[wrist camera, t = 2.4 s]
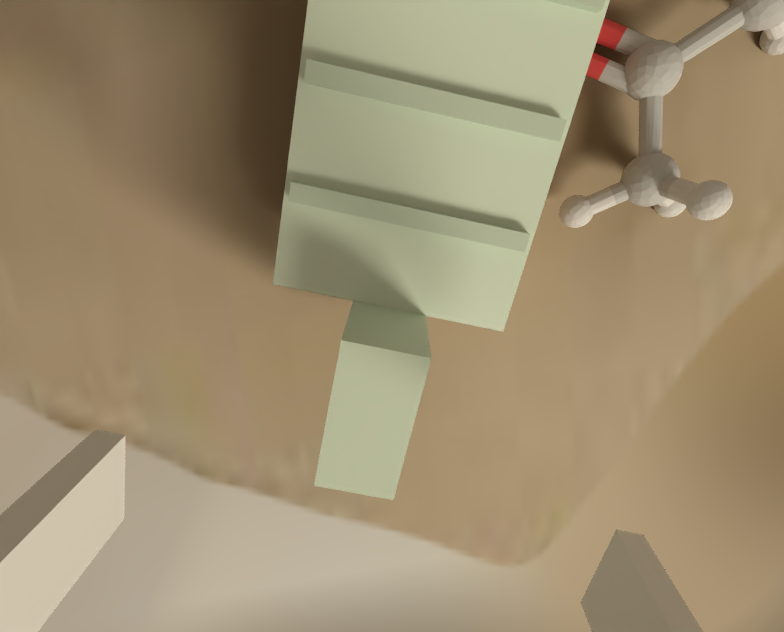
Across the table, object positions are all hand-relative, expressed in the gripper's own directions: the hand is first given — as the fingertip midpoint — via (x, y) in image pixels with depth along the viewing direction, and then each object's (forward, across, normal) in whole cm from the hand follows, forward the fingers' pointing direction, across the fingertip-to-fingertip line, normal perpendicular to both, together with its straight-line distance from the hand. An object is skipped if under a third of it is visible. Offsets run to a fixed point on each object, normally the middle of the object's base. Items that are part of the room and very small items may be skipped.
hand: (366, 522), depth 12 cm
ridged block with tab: (+9, 0, +8) cm, 12 cm away
